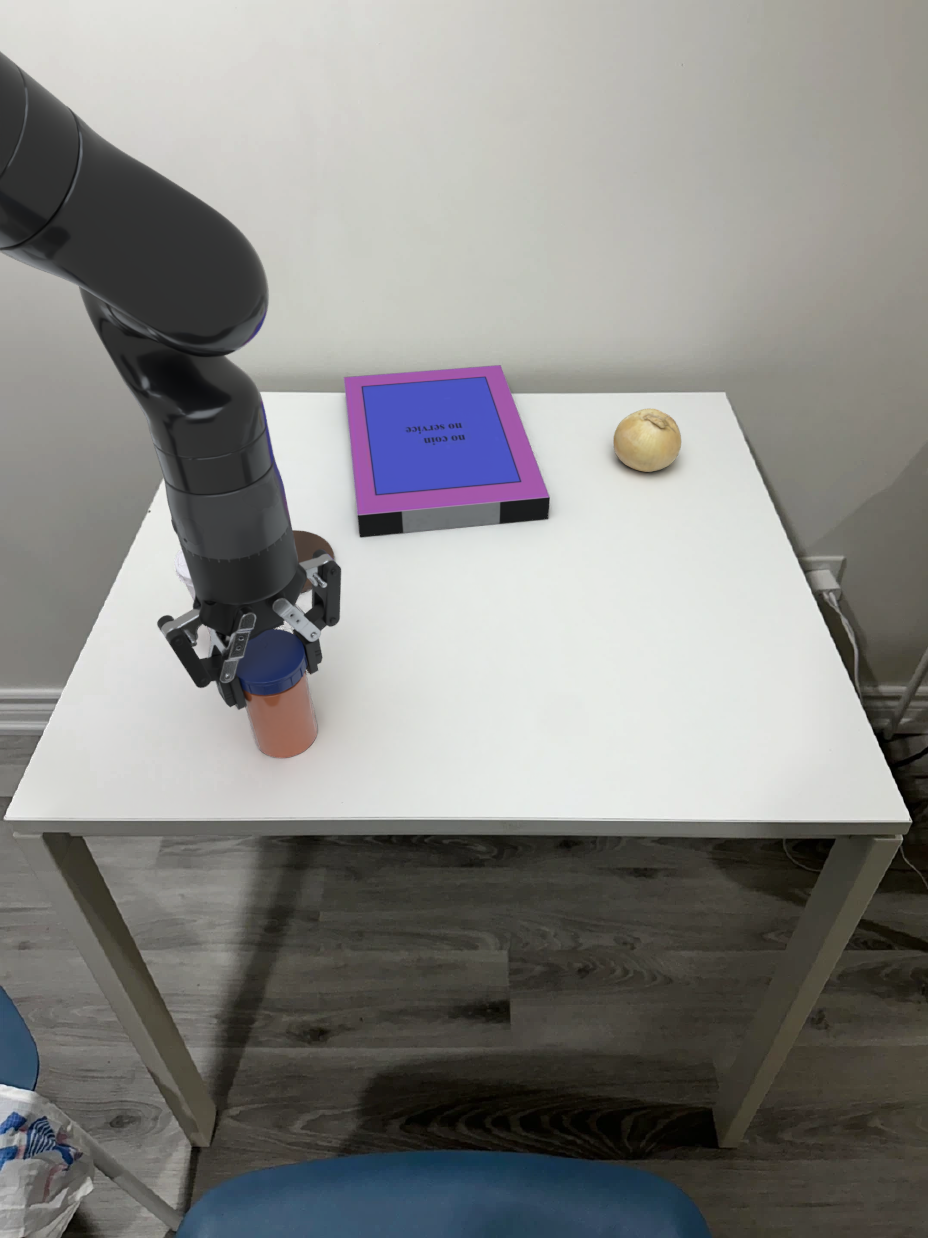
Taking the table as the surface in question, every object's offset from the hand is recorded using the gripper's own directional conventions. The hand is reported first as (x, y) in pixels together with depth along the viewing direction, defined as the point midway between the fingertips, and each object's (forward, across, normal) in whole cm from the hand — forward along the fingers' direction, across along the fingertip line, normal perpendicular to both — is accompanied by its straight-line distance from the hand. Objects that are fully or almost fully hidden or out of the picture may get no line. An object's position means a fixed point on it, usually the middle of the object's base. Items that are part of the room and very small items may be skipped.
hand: (274, 683), depth 69 cm
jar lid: (-3, 0, 0) cm, 3 cm away
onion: (+7, +54, +12) cm, 56 cm away
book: (+7, +35, +28) cm, 45 cm away
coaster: (+6, +10, +20) cm, 23 cm away
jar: (+6, 0, 0) cm, 6 cm away
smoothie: (+7, +1, +14) cm, 16 cm away
